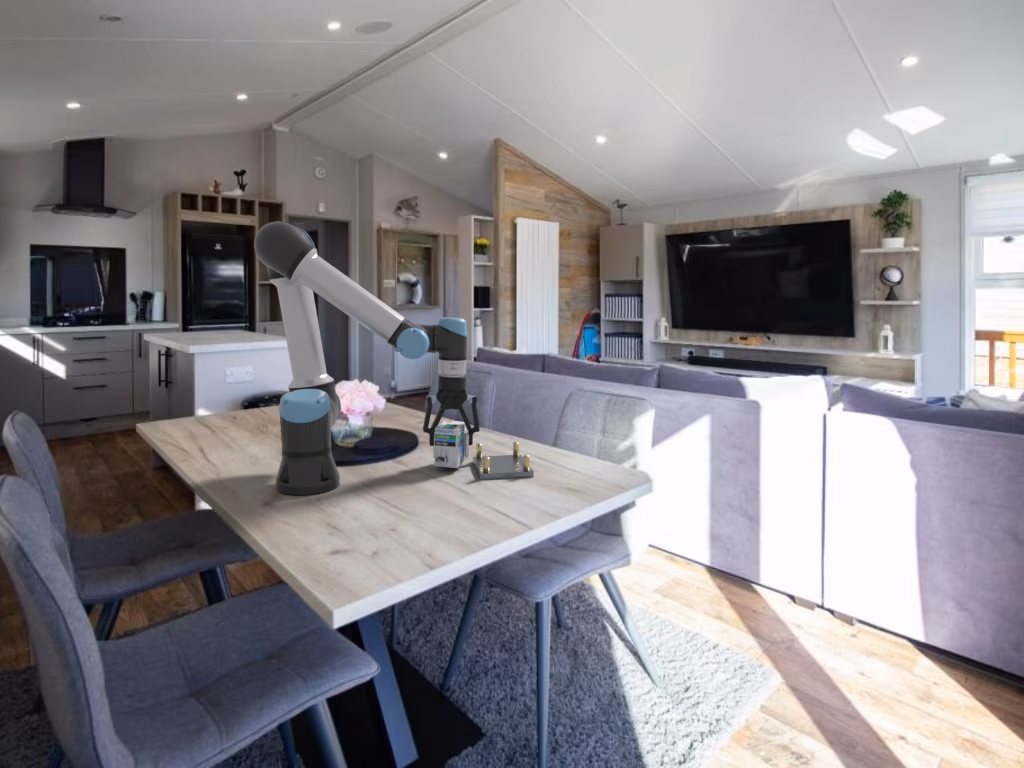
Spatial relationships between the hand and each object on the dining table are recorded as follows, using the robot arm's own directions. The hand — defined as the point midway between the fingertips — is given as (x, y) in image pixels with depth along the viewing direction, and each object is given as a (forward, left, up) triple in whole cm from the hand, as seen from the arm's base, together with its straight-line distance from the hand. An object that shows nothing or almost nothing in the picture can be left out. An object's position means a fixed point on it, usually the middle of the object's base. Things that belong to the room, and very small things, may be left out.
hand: (450, 456), depth 174 cm
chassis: (+14, -4, -3) cm, 14 cm away
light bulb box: (0, 0, -2) cm, 2 cm away
